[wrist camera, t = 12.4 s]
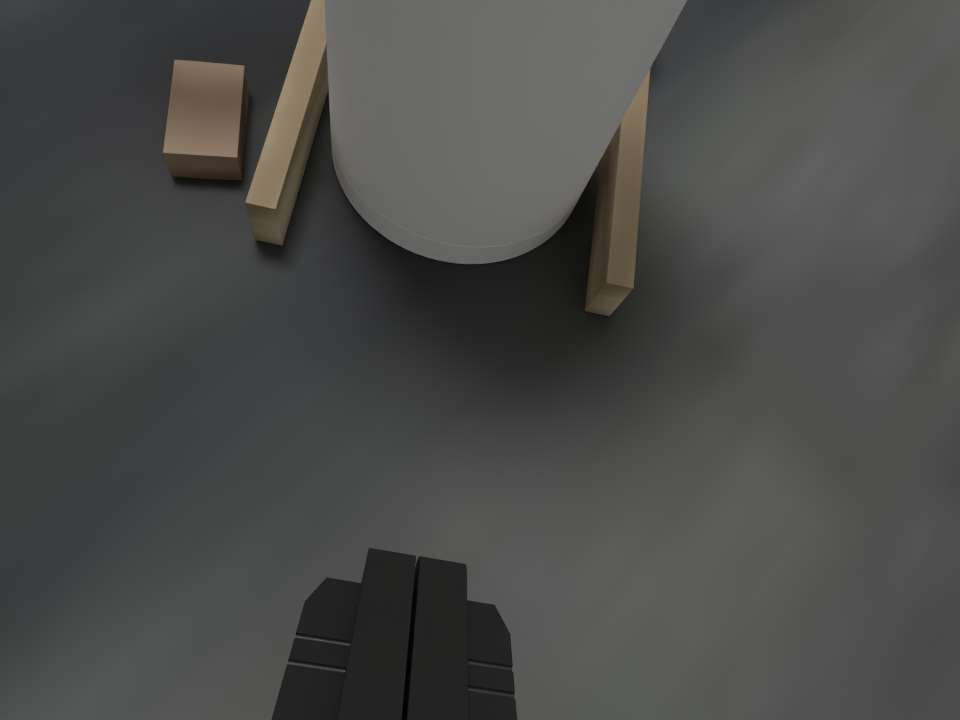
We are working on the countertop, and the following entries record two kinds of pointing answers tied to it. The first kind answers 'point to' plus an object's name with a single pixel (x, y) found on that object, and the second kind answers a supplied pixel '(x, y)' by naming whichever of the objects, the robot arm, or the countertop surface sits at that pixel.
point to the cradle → (298, 128)
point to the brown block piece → (207, 121)
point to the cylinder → (480, 112)
